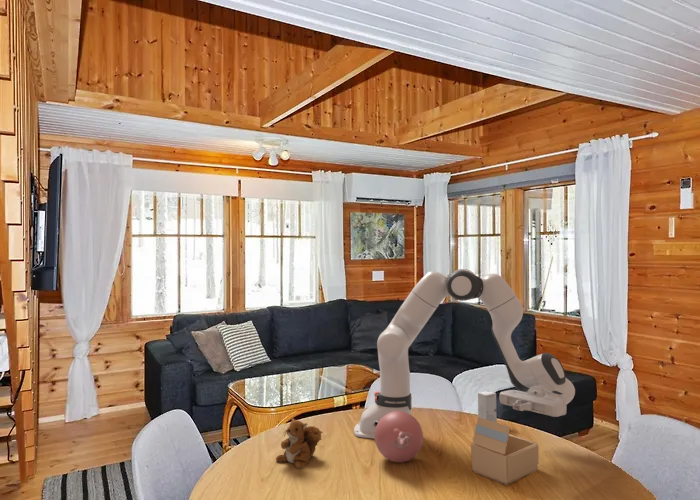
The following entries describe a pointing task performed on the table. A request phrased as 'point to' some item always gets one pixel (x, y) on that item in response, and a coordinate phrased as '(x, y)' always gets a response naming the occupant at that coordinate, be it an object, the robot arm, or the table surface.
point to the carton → (506, 460)
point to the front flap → (491, 435)
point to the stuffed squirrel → (299, 443)
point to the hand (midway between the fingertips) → (516, 407)
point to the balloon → (398, 436)
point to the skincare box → (487, 405)
